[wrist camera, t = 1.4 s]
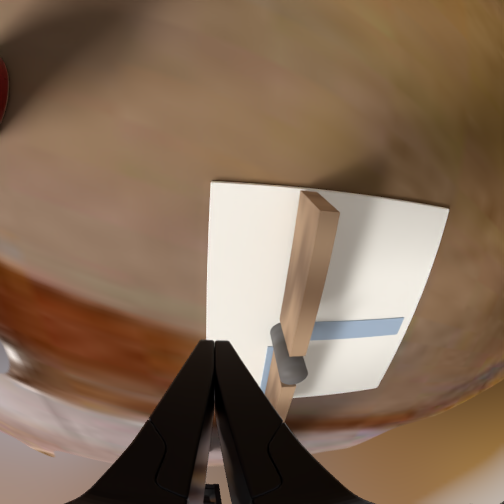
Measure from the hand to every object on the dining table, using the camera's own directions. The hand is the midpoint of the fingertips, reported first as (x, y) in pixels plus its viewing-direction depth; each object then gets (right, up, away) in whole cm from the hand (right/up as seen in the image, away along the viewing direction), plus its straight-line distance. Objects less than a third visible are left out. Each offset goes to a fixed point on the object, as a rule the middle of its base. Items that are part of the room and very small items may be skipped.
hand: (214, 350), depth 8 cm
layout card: (+6, -2, +13) cm, 15 cm away
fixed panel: (+3, -6, +15) cm, 17 cm away
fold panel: (+4, +2, +10) cm, 11 cm away
